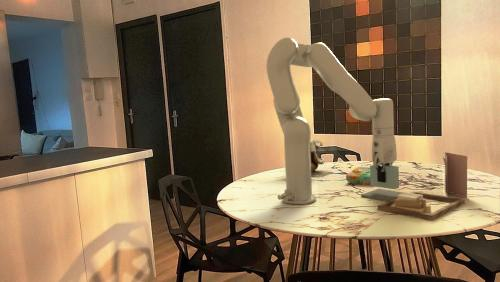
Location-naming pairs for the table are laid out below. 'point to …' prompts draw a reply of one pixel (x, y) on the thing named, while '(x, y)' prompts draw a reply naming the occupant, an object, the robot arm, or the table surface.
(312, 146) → the cherub figurine
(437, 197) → the brown wooden frame
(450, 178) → the greeting card
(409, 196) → the offcut small
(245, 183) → the table surface
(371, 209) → the table surface
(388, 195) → the mat
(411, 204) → the offcut mid
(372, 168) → the pale teal block
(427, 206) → the offcut large
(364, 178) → the puzzle game
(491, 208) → the table surface
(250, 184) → the table surface
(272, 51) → the robot arm
